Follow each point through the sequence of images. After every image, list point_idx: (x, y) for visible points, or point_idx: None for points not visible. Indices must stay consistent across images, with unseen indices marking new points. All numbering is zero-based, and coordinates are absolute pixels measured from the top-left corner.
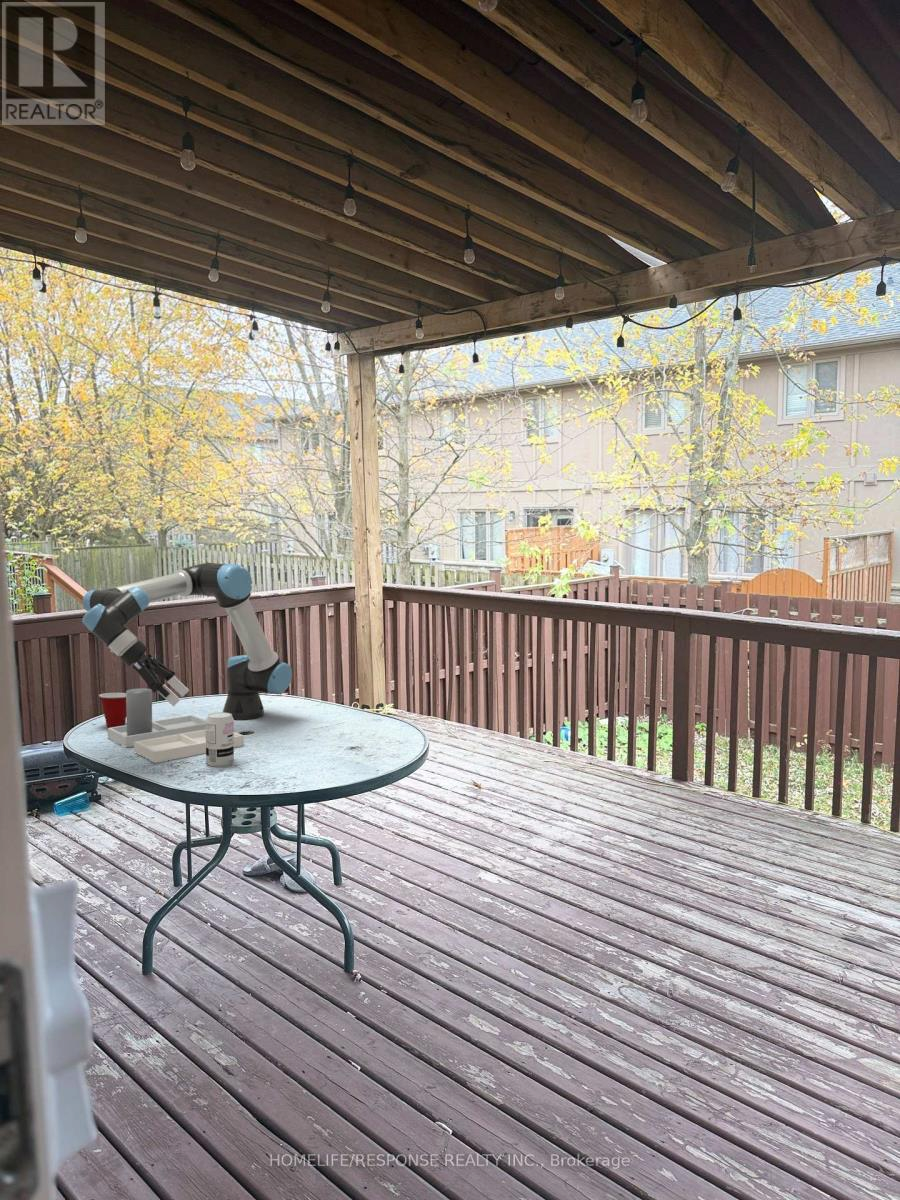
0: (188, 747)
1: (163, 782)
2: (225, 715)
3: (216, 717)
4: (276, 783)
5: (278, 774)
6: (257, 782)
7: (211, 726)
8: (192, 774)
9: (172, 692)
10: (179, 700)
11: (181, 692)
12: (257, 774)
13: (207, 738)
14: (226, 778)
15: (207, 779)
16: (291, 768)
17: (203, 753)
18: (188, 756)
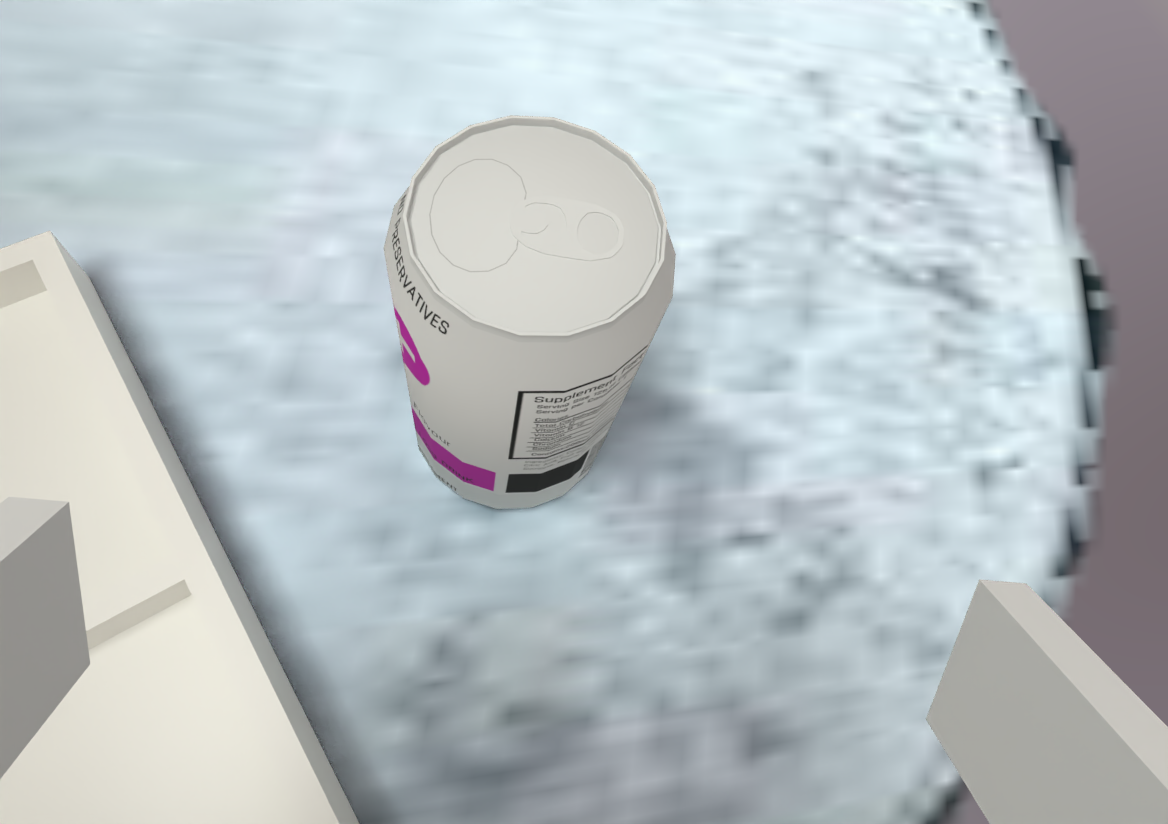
0: (262, 657)
1: (907, 767)
2: (539, 171)
3: (623, 253)
4: (905, 154)
5: (764, 135)
6: (892, 232)
7: (649, 342)
8: (741, 585)
9: (1162, 743)
10: (1023, 597)
11: (32, 681)
12: (759, 225)
13: (591, 429)
14: (826, 378)
15: (844, 483)
16: (666, 72)
17: (224, 551)
18: (279, 664)
